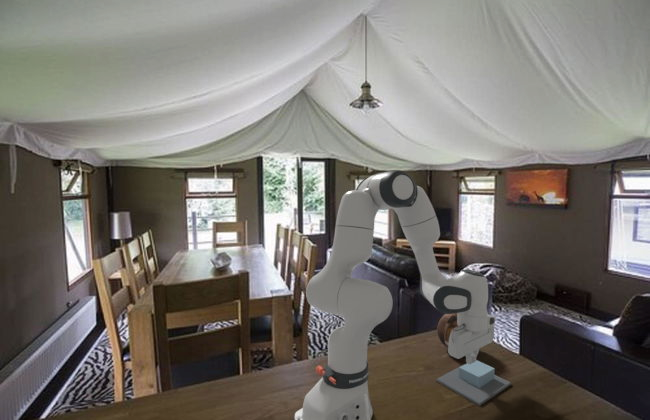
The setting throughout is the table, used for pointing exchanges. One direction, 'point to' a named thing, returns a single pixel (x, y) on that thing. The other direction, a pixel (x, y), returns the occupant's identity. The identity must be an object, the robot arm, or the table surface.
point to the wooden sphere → (446, 327)
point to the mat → (473, 387)
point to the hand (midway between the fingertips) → (471, 362)
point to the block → (476, 373)
